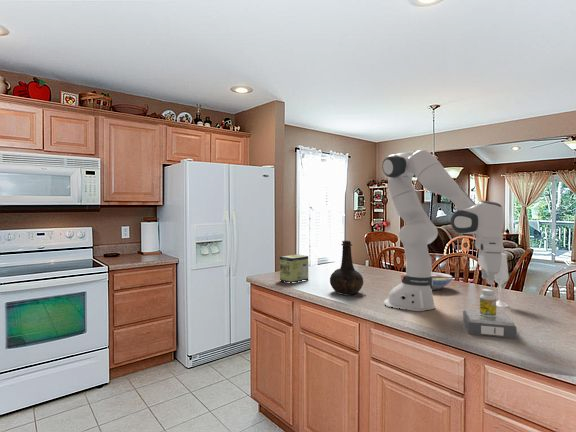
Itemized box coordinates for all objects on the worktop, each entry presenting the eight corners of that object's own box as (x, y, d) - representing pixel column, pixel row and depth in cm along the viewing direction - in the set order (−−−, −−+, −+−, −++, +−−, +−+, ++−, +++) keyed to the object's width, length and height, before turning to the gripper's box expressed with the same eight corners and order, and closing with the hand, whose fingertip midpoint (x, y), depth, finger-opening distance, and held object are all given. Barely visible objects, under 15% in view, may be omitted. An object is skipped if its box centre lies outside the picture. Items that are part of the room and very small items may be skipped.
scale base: (468, 334, 129) (468, 323, 129) (462, 321, 144) (463, 311, 144) (516, 339, 124) (516, 327, 124) (505, 325, 139) (505, 314, 139)
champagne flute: (511, 306, 164) (512, 254, 164) (498, 307, 163) (499, 254, 163) (500, 302, 171) (501, 252, 170) (488, 303, 170) (488, 252, 169)
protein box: (279, 281, 221) (279, 256, 220) (297, 278, 231) (297, 254, 231) (290, 284, 213) (290, 258, 213) (308, 280, 224) (308, 255, 223)
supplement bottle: (499, 316, 133) (499, 290, 132) (489, 318, 130) (489, 292, 130) (486, 312, 138) (486, 287, 137) (476, 314, 135) (476, 289, 135)
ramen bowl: (446, 284, 211) (446, 270, 211) (461, 293, 189) (461, 278, 188) (403, 283, 214) (403, 270, 214) (412, 292, 191) (412, 277, 191)
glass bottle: (347, 287, 204) (347, 238, 203) (370, 293, 189) (370, 241, 188) (322, 291, 194) (322, 240, 193) (345, 298, 179) (345, 243, 178)
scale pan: (470, 322, 130) (470, 319, 130) (464, 311, 143) (464, 308, 143) (514, 326, 125) (514, 323, 125) (504, 314, 138) (504, 311, 138)
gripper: (474, 241, 144) (473, 275, 145) (484, 247, 125) (483, 286, 126) (492, 242, 142) (490, 276, 143) (505, 248, 123) (503, 288, 124)
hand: (487, 281), depth 134 cm, fingers open, 8 cm apart
